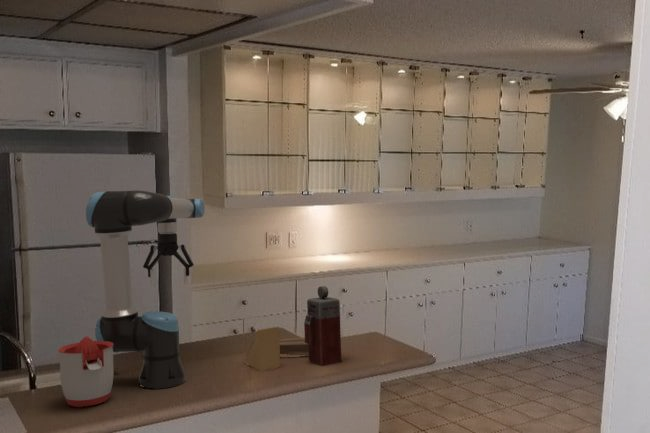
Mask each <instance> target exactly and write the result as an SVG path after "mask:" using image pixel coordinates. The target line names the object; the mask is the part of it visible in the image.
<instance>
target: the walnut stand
mask: <svg viewBox="0 0 650 433" xmlns="http://www.w3.org/2000/svg"><path fill="white" fill-rule="evenodd" d="M279 339H280V354H287V355H288V354H289V355H305V356H309V346H308V344H307V343H305V337H291V338H290V337H289V338H279Z"/></svg>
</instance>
